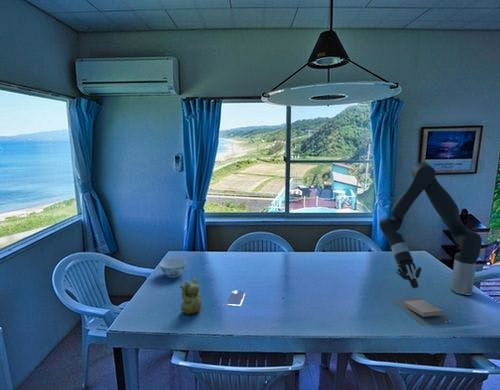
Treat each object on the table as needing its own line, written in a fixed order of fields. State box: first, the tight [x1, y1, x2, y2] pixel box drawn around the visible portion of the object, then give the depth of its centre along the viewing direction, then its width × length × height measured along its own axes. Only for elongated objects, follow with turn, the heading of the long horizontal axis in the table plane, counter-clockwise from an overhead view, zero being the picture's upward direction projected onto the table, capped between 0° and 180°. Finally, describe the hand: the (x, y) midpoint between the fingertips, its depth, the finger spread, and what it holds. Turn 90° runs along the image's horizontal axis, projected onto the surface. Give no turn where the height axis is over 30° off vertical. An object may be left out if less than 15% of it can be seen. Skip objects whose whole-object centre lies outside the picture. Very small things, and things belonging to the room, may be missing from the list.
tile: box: [403, 299, 445, 317], centre depth 141 cm, size 2×10×13 cm
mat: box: [390, 296, 454, 326], centre depth 142 cm, size 22×16×1 cm
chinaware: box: [159, 257, 187, 279], centre depth 179 cm, size 15×15×8 cm
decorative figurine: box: [179, 277, 202, 316], centre depth 140 cm, size 10×8×15 cm
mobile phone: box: [225, 289, 247, 308], centre depth 154 cm, size 8×1×15 cm
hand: (415, 287), depth 145 cm, fingers closed
